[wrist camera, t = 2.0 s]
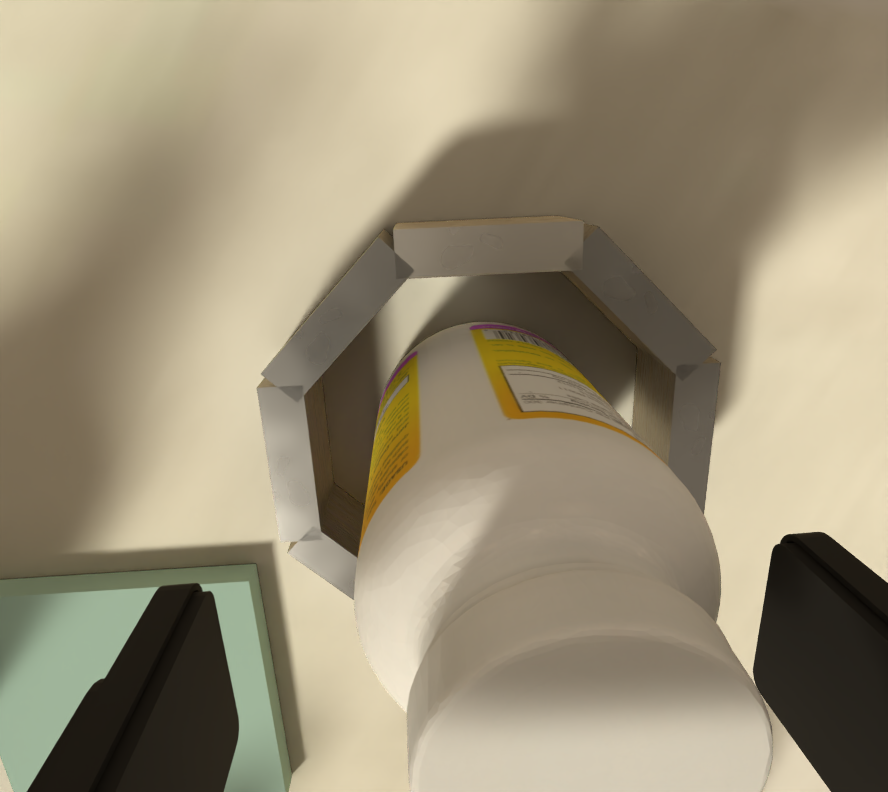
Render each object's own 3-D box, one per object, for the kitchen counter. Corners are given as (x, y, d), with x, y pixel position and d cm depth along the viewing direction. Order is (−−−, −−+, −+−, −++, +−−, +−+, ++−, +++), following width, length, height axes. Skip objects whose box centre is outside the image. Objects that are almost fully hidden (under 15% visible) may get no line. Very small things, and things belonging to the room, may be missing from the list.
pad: (256, 563, 21) (248, 581, 20) (291, 775, 24) (287, 798, 23) (-37, 582, 21) (-58, 600, 20) (39, 794, 24) (23, 818, 23)
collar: (686, 209, 18) (737, 213, 15) (655, 567, 22) (691, 623, 19) (263, 228, 17) (234, 237, 15) (312, 589, 22) (296, 650, 19)
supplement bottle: (421, 532, 21) (431, 1003, 9) (346, 360, 19) (224, 670, 7) (605, 469, 21) (881, 875, 8) (550, 285, 18) (814, 474, 6)
